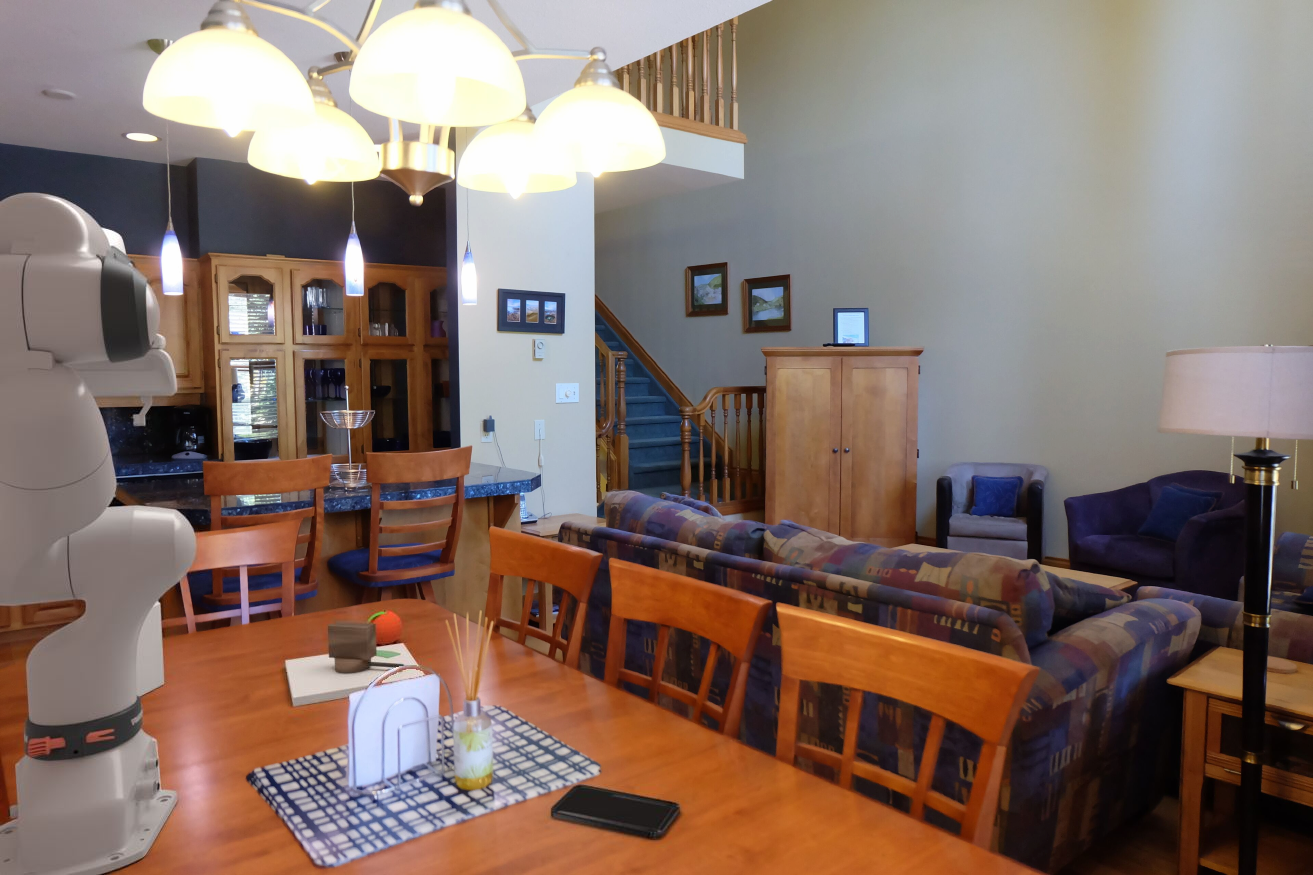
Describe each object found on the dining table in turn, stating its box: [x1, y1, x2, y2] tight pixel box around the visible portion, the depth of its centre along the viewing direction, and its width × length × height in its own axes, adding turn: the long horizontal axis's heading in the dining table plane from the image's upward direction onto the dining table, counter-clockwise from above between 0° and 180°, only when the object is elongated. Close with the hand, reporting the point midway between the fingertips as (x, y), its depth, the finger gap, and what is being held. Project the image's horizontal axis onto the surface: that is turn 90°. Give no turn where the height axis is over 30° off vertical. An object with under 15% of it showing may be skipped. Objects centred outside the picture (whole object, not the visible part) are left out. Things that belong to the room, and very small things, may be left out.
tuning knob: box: [327, 620, 404, 673], centre depth 154 cm, size 6×14×8 cm, turn 77°
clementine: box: [366, 610, 403, 646], centre depth 174 cm, size 8×7×7 cm
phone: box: [550, 783, 681, 840], centre depth 104 cm, size 8×1×15 cm
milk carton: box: [136, 600, 165, 698], centre depth 148 cm, size 7×7×19 cm
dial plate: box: [284, 642, 426, 707], centre depth 155 cm, size 22×22×2 cm
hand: (103, 426), depth 128 cm, fingers open, 8 cm apart
